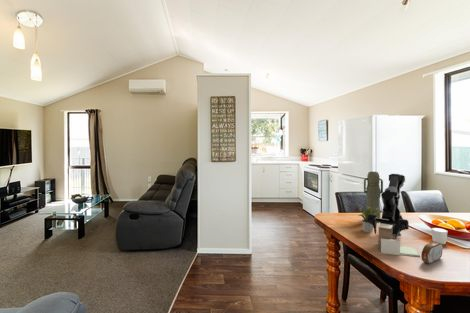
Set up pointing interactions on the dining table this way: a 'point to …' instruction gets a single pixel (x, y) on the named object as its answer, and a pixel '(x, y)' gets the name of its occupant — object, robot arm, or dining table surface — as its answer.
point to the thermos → (373, 192)
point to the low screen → (390, 246)
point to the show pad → (408, 251)
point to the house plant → (366, 225)
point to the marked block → (385, 232)
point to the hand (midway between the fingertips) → (385, 235)
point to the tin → (432, 252)
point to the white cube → (439, 235)
